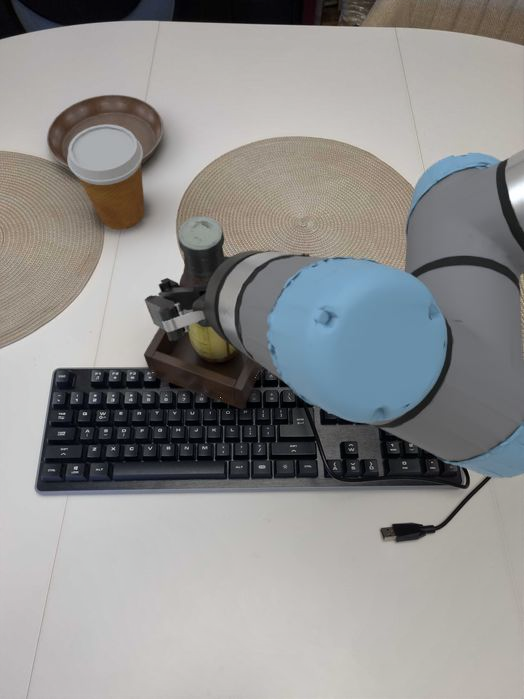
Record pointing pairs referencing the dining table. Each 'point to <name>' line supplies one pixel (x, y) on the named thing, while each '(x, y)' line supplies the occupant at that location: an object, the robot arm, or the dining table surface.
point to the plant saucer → (106, 122)
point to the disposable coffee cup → (110, 173)
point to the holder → (201, 370)
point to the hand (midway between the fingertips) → (197, 279)
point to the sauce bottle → (203, 279)
